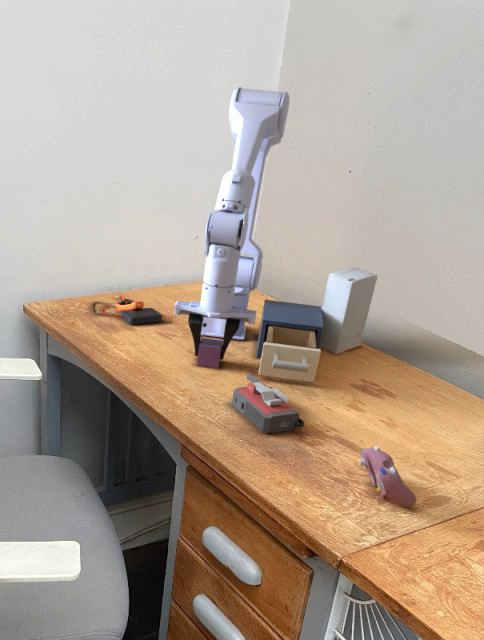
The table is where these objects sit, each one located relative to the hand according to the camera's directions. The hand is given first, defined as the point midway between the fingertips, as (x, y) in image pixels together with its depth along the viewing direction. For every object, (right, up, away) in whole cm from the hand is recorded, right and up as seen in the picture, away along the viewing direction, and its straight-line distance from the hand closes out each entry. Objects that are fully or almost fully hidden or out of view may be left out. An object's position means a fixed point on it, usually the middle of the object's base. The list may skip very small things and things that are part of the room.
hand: (209, 355), depth 145 cm
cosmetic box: (+27, +4, +13) cm, 31 cm away
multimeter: (-16, +14, +23) cm, 31 cm away
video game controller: (+20, -26, -35) cm, 48 cm away
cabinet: (+16, +3, +9) cm, 19 cm away
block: (0, -1, +1) cm, 1 cm away
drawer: (+14, -3, -3) cm, 14 cm away
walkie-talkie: (+7, -12, -14) cm, 20 cm away
